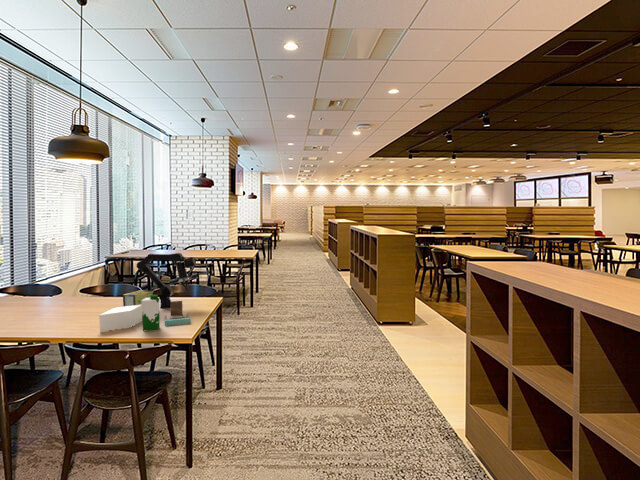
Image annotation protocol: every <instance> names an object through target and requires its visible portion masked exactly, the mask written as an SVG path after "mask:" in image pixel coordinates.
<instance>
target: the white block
mask: <svg viewBox="0 0 640 480" xmlns="http://www.w3.org/2000/svg"><path fill="white" fill-rule="evenodd" d="M98 317H99V318H98V319H99V333H105V332H110V331H109V330H112V331H116V330H115V329H118V330H122V329H121V328H124V329H129V327H130V328H132V326H133V327H134V326H137V324H139V323H141V322H142V304H140V305H133V306H125V307H123V306H119V307H113V308H112V309H109V310H107V311H105V312H103V313H100V314H99V315H98Z"/></svg>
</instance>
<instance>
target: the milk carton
mask: <svg viewBox="0 0 640 480" xmlns="http://www.w3.org/2000/svg"><path fill="white" fill-rule="evenodd" d="M159 297H160V296H159V294H153V295H151V296H150V298H145V299H143V300H142V301H141V302H142V321H141V322H142V331H144V330H148V331H147V332H150V331H149V330H156V331H157V330H158V329H159V328H160V325H161V324H160V323H161V322H160V321H161V320H160V298H159ZM144 332H145V331H144Z"/></svg>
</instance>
